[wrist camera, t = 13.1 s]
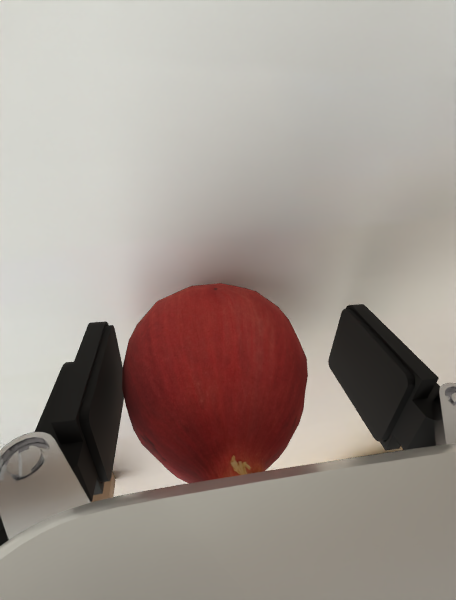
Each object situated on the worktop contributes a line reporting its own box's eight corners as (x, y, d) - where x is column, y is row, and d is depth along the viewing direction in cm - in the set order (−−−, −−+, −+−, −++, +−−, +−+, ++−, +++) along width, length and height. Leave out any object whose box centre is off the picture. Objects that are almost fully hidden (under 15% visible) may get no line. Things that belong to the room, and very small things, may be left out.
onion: (241, 366, 15) (299, 565, 9) (124, 351, 13) (80, 587, 7) (288, 265, 13) (426, 438, 6) (149, 230, 11) (119, 420, 4)
